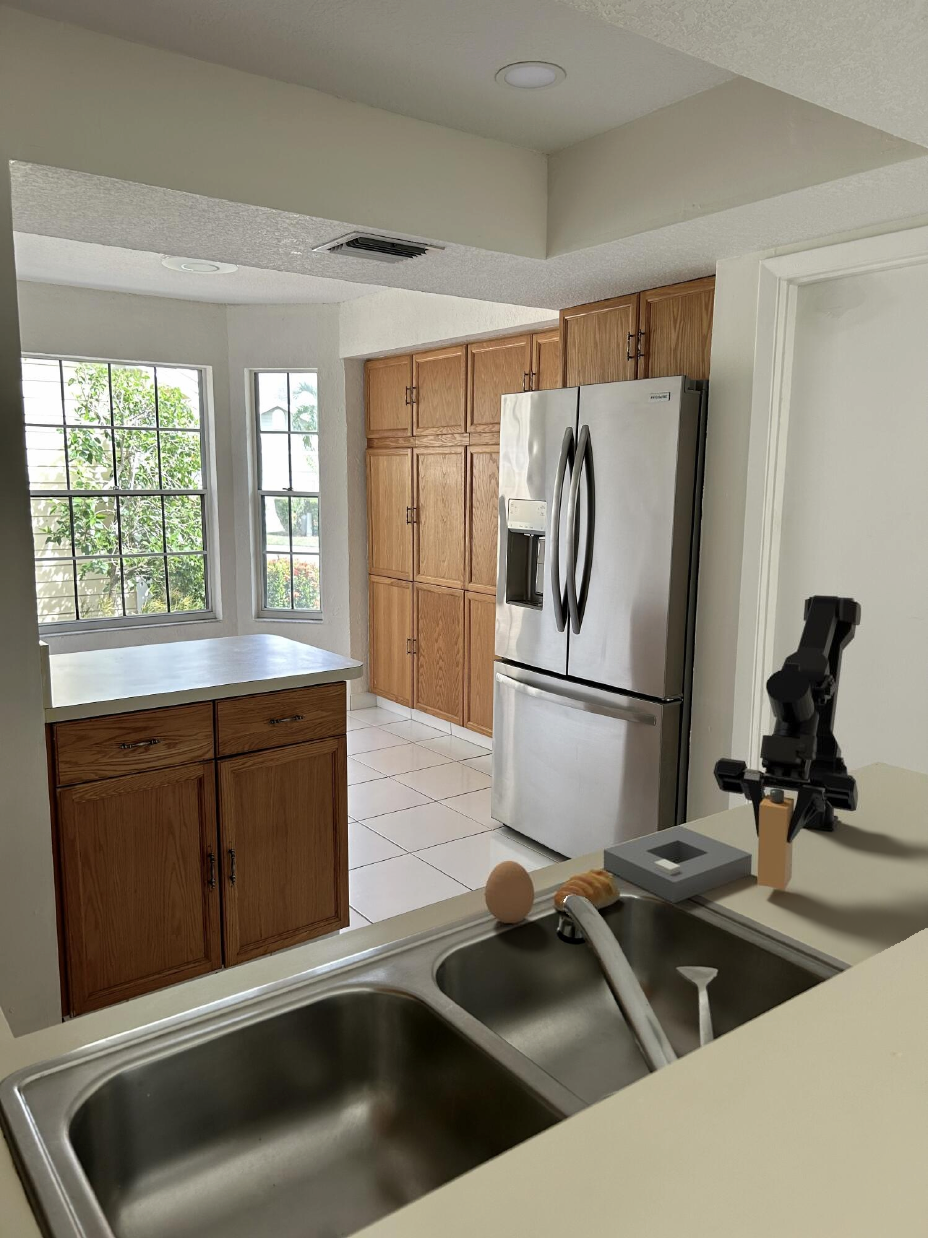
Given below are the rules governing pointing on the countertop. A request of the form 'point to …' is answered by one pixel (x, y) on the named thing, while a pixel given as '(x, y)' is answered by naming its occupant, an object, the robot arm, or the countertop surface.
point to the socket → (675, 882)
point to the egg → (509, 892)
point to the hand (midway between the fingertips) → (773, 839)
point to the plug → (775, 840)
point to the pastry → (589, 889)
